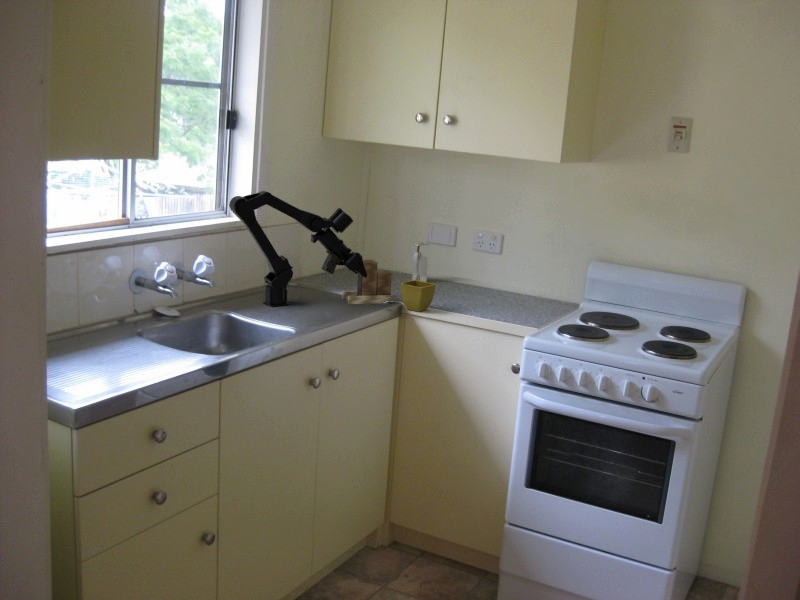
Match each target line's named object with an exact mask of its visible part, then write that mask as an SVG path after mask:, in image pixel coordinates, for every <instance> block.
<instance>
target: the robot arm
mask: <svg viewBox="0 0 800 600" xmlns="http://www.w3.org/2000/svg"><path fill="white" fill-rule="evenodd" d="M228 206H229V207H228V208H229V209H230V211H231V212H232V213H233V214H234V215H235V217H237V218H238V219H239V221H240V222H241V223H242V224H243V225H244V226H245V227H246V229H247V231H248V232H249V234H250V236H251V237H252V238H253V240H254V241H255V243H256V246H258V248H259V250H260V252H261V253H262V254H263V256H264V258H265V260H266V263H267V267H268V269H269V272H268V273H267V274H266V275H265V276H264V277H263V279H264V282H265V284H266V285H265V286H264V287H265V288H264V289H265V290H264V291H265V293H264V296H265V298H264V300H263V301H262V304H264V303H265V305H268V306H269V305H270V307H278V306H288V305H289V302H288V289H287V287H288V285H289V282H290V281H291V280H292V279H293V276H294V271H293V269H294V267H293V266H292V265H291V264H290V262H289V260H288V258H287V257H285V256H284V255H283V254H282V255H279V254H278V252H277V251H276V249H275V248H274V246H273V244H272V243H271V241H270V239H269V238H268V237H267V234H266V233H265V231H264V230H263V227H262V226H261V225H260V224H259V222H258V220H257V216H256V213H255V210H258V209H260V208H261V207H264V206H269V207H271V208H272V209H274V210H276V211H278V212H281V213H283V214H284V215H286V216H288V217H290V218H292V219H293V220H294V221H296V223H298V224H299V225H301V226H302V227H303V228H305V229H306V230H308V231H310V232H313V233H314V234H312V233H311V234H310V242H311V243H313V244H316V242H319V243H320V245H322V246H323V247H324V249H325V250H326V254H327V256H326V258H325V259H324V262H323V264H322V266H321V270H322V271H324V272H326V273H328V274H330V275H333V274H334V273H335V270H336V268H337V266H343V267H344V268H345V269H346V270H348V271H351V272H353V273H354V274H355V275H358V273H359V274H360V275H362V276H363V277H364V278H366V277H367V273H366V270H365V267H364V263H363V260H364V258H363V256H362V255H361V254H360V252H358V251H353V250H352V249H351V248H350V247H348V246H347V245H346V244H345V242H344V240H343V239H341V238H339V236H338V235H337V234H338V233H340V234H343V232H345V231H346V229H348V228H349V227H350V226H351V224H352V223H354V220H353V218H352V217H351V216H350V215H349V214H348V213H346V212H345V211H344V210H343V209H342V208H340V207H338V208H337V209H335V211H334V212H333V213H332V215H330V217H328V218H327V217H322V216H320V215H318V214H316V213H313V212H310V211H307V210H305V209H304V210H303V209H300V208H298V207H296V206H294V205H292V204H290V203H288V202H286V201H285V200H283V199H280V198H279V197H277V196H275V195H273V194H272V193H271V192H269V191H266V190H262V191H259V192H256V193H251V194H247V195H244V196H240V195H236V196H234V197H232V198H231V199H230V201H229V205H228Z"/></svg>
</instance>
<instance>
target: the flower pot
mask: <svg viewBox="0 0 800 600" xmlns="http://www.w3.org/2000/svg"><path fill="white" fill-rule="evenodd" d="M411 280H412V279H411ZM411 280H409V281H405V282H402V283H400V290H401V291H400V292H401V301H402V303H403V305H404V307H405V309H406V310H408V311H414V312H418V313H419V312H422V311H423V312H424V311H426V310H427V309H428V308H430V305H431V303H432V302H433V299H434V295H435V291H436V287H437V286H436V285H437V284H436V283H431V282H428V281H427V282H423V281H418V280H412V281H411Z"/></svg>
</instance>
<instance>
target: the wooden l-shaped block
mask: <svg viewBox="0 0 800 600" xmlns="http://www.w3.org/2000/svg"><path fill="white" fill-rule="evenodd" d="M392 276H393V274H392V272H391V271H389V270H377V286H376V296H357V290H343V291H342V292H341V293H342V294H341V298H342V300H347V305H361V304H362V305H368V304H369V305H371V304H372V305H373V304H384V303H383V302H386V301H394V299H395V297H394V296H395V295H393V294H391V293H392Z"/></svg>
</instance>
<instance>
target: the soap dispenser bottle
mask: <svg viewBox="0 0 800 600" xmlns="http://www.w3.org/2000/svg"><path fill="white" fill-rule="evenodd" d="M411 248H412V249H411V265H412V277H411V280H410V281H412V280H418V281H423V282H428V279H427V271H428V267H429V263H430V258H431V257H430V255H431V244H430V243H428V242H426V241H425V242H422V241H416V242H413V243H412V247H411Z"/></svg>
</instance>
